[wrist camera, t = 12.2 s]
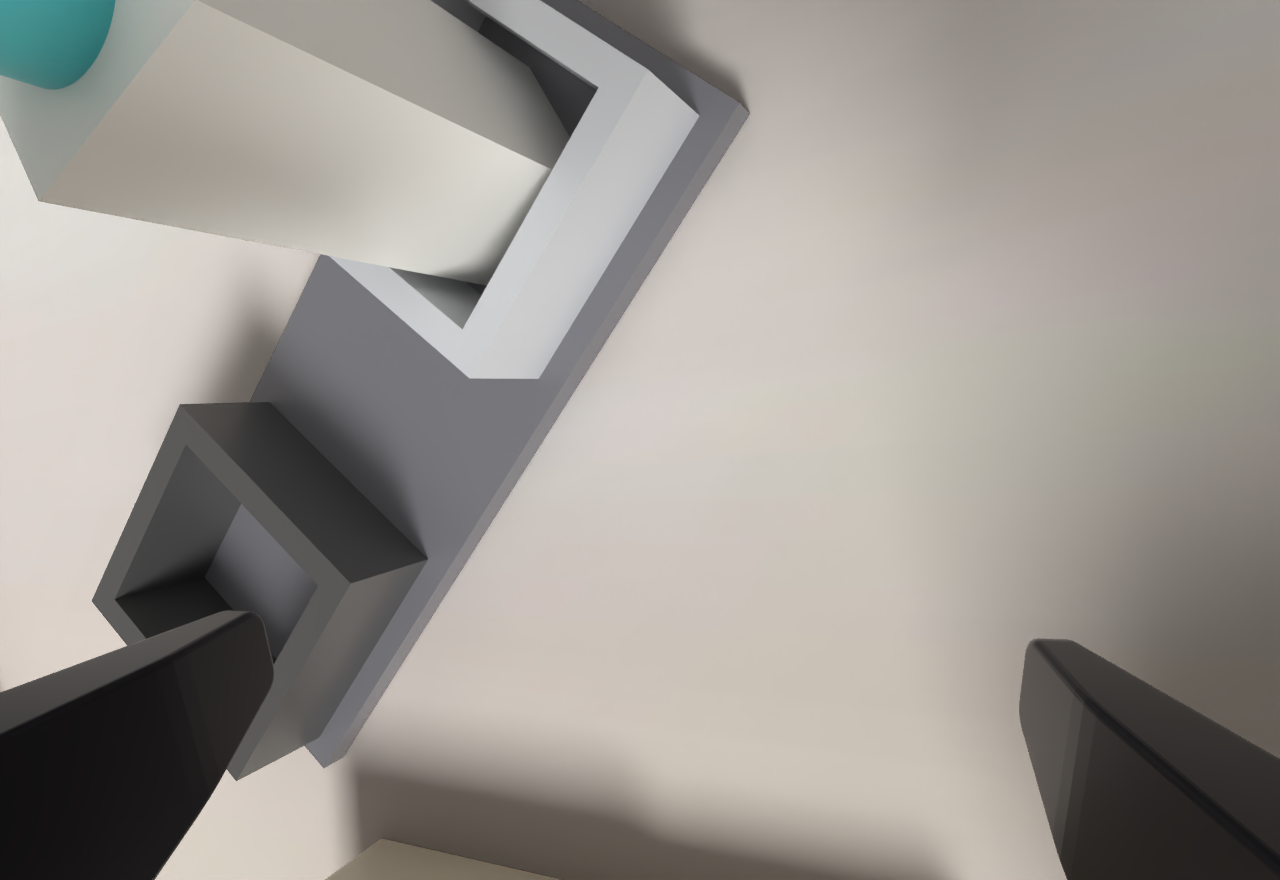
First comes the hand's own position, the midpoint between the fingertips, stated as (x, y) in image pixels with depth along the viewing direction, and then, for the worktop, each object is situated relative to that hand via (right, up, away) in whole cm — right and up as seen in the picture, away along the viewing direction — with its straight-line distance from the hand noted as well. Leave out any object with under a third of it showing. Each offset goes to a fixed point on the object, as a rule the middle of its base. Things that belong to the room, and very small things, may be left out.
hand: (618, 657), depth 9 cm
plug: (-3, +9, +12) cm, 15 cm away
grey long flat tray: (-7, +4, +14) cm, 16 cm away
